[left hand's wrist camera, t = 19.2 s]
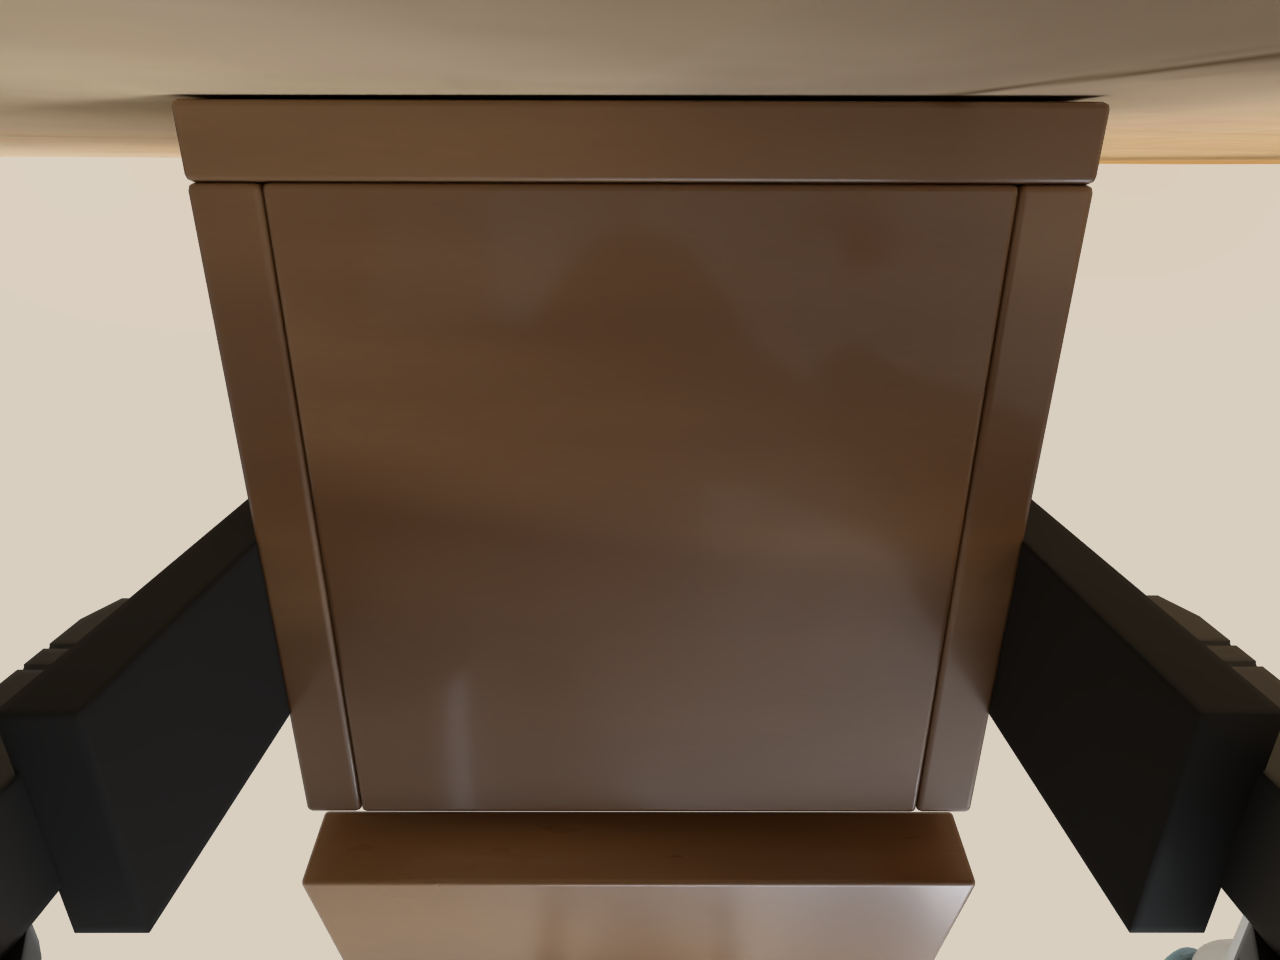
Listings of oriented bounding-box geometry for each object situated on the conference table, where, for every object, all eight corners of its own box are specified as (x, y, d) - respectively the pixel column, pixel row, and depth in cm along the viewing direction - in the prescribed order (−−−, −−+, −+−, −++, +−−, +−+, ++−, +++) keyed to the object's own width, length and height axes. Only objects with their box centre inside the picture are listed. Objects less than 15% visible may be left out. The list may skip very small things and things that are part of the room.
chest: (809, 151, 23) (786, 461, 26) (469, 150, 23) (491, 460, 26) (1114, 101, 8) (971, 813, 12) (166, 98, 8) (306, 813, 12)
